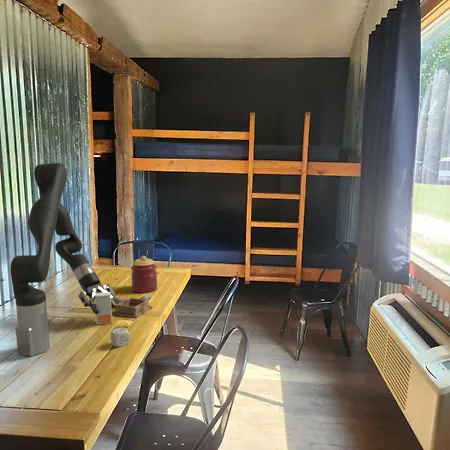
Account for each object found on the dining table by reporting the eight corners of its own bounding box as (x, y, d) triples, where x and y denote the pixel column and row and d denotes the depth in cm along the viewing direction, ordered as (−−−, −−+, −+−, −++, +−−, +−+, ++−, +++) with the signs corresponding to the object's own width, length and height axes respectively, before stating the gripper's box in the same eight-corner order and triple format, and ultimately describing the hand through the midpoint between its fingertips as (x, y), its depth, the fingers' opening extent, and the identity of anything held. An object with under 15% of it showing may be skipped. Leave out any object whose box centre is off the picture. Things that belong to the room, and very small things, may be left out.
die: (130, 343, 139) (129, 330, 138) (117, 348, 136) (116, 334, 135) (123, 339, 143) (122, 326, 142) (110, 343, 139) (109, 330, 138)
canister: (160, 291, 196) (158, 257, 194) (134, 294, 192) (132, 259, 189) (154, 284, 208) (153, 252, 206) (130, 287, 204) (128, 254, 201)
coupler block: (136, 318, 162) (136, 308, 162) (101, 312, 169) (100, 303, 168) (159, 303, 179) (158, 295, 178) (126, 299, 185) (125, 291, 185)
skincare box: (96, 325, 156) (94, 296, 154) (96, 321, 160) (95, 292, 158) (112, 323, 157) (110, 294, 155) (112, 319, 161) (110, 291, 159)
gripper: (74, 276, 154) (94, 310, 149) (105, 268, 166) (124, 299, 160) (67, 286, 158) (87, 320, 153) (98, 278, 169) (116, 309, 164)
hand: (106, 309), depth 157 cm, fingers closed on skincare box, 7 cm apart
